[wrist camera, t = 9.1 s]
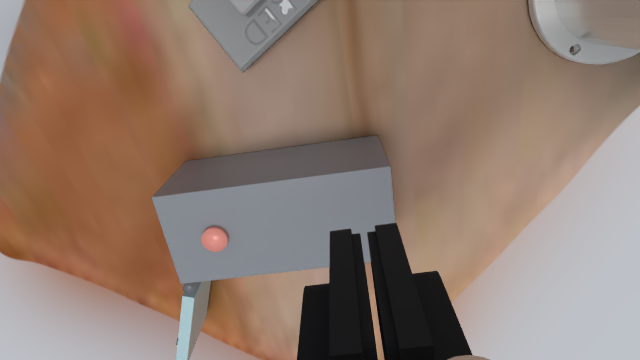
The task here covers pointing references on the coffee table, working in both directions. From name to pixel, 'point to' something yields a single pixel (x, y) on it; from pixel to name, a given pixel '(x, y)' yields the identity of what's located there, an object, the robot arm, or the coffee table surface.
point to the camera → (248, 24)
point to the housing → (272, 208)
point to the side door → (192, 319)
